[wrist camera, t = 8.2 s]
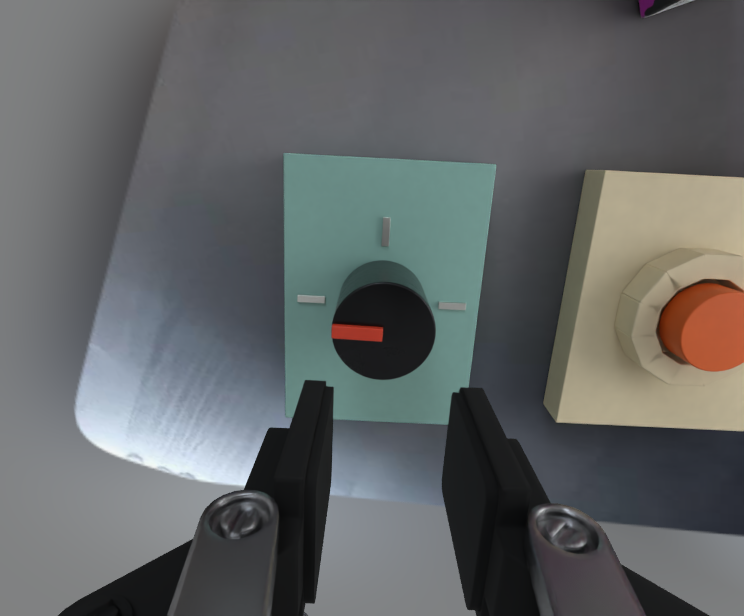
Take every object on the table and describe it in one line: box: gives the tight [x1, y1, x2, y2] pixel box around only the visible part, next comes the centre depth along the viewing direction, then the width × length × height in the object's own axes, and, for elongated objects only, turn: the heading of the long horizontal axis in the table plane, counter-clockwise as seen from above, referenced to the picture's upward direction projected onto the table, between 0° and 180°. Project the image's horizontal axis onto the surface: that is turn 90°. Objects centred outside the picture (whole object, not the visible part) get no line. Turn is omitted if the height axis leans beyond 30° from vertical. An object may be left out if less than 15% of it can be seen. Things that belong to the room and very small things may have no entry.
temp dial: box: [331, 260, 436, 380], centre depth 21 cm, size 4×4×5 cm
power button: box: [659, 283, 744, 372], centre depth 22 cm, size 4×4×2 cm
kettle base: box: [543, 170, 744, 431], centre depth 25 cm, size 14×11×4 cm
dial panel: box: [283, 153, 496, 425], centre depth 25 cm, size 14×10×3 cm
